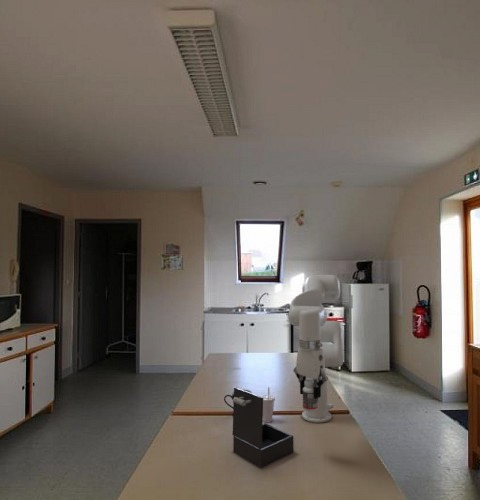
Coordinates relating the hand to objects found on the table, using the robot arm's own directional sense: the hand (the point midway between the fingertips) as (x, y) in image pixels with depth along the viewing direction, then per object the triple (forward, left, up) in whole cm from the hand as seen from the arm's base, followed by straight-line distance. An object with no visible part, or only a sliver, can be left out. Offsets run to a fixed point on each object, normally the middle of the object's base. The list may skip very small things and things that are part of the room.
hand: (310, 394), depth 135 cm
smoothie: (-8, -31, -20) cm, 38 cm away
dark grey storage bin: (+12, -12, -20) cm, 26 cm away
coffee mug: (-3, -44, -20) cm, 48 cm away
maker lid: (+19, -12, -6) cm, 23 cm away
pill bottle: (0, 0, -5) cm, 5 cm away
